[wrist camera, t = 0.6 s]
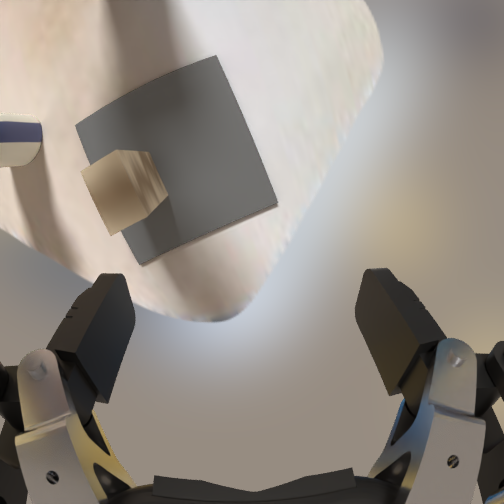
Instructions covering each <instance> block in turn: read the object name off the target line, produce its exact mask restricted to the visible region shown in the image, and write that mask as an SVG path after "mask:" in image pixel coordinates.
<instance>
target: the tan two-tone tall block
mask: <svg viewBox="0 0 504 504" xmlns="http://www.w3.org/2000/svg"><path fill="white" fill-rule="evenodd" d="M81 174H82V176H83V179H84V181H85V183H86V186H87V188H88V190H89V192H90V195H91V197H92V199H93V201H94V203H95V205H96V207H97V210H98V212H99V214H100V216H101V218H102V220H103V222H104V224H105V226H106V228H107V230H108V232H109V234H110V236H112V235H114V234H116V233H117V232H119V231H121V230H123V229H125V228H127V227H129V226H131V225H132V224H134V223H136V222H138V221H140V220H142V219H144V218H146V217H148V215H149V214H150V213H151V212H152V211H153V210H154V209H155V208H156V207H157V206H158V205H159V204H160V203H161V202H162V201H163V200H164V199H165V198H166V197H167V196H168V193H167V191H166V189H165V186H164V184H163V182H162V180H161V178H160V175H159V173H158V171H157V169H156V166H155V164H154V162H153V160H152V157H151V155H150V153H149V152H144V151H131V150H115V151H113V152H111V153H110V154H108V155H106V156H105V157H103V158H101V159H100V160H98V161H96V162H95V163H93V164H92V165H90V166H89V167H87V168H85V169H84V170H82V171H81Z"/></svg>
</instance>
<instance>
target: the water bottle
mask: <svg viewBox="0 0 504 504" xmlns="http://www.w3.org/2000/svg"><path fill="white" fill-rule="evenodd" d="M41 141H42V127H41V124H40V122H39V120H38V119H37V118H36V117H35V116H34V115H31V114H11V113H0V168H2V167H13V166H25V165H27V164H28V163H30V162H31V161H32V160H33V159H34V158H35V156H36V155H37V153H38V151H39V148H40V145H41Z"/></svg>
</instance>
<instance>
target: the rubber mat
mask: <svg viewBox="0 0 504 504" xmlns="http://www.w3.org/2000/svg"><path fill="white" fill-rule="evenodd" d="M75 127H76V130H77V132H78V135H79V138H80V140H81V143H82V145H83V148H84V150H85V153H86V155H87V158H88V160H89V163H90V165H92V164H93V163H95V162H96V161H98V160H100V159H101V158H103V157H105V156H106V155H108V154H110V153H111V152H113V151H115V150H131V151H144V152H149V153H150V155H151V157H152V160H153V162H154V164H155V166H156V169H157V171H158V173H159V175H160V178H161V180H162V182H163V184H164V186H165V189H166V191H167V193H168V196H167V197H166V198H165V199H164V200H163V201H162V202H161V203H160V204H159V205H158V206H157V207H156V208H155V209H154V210H153V211H152V212H151V213H150V214H149V215H148V217H146V218H144V219H142V220H140V221H138V222H136V223H134V224H132V225H131V226H129V227H127V228H125V229H123V230H121V232H122V234H123V236H124V238H125V239H126V241H127V243H128V245H129V247H130V249H131V251H132V253H133V254H134V256H135V258H136V260H137V262H138V263H139V265H140V264H142V263H144V262H146V261H148V260H150V259H152V258H154V257H157V256H159V255H161V254H163V253H165V252H167V251H169V250H172V249H174V248H176V247H178V246H180V245H182V244H185V243H187V242H189V241H191V240H193V239H195V238H198V237H200V236H202V235H204V234H207V233H209V232H211V231H213V230H215V229H218V228H220V227H222V226H225V225H227V224H229V223H231V222H234V221H236V220H238V219H240V218H243V217H245V216H247V215H250V214H252V213H254V212H257V211H259V210H261V209H264V208H266V207H268V206H271V205H273V204H276V203H278V201H277V198H276V196H275V193H274V191H273V188H272V185H271V183H270V180H269V178H268V175H267V173H266V170H265V168H264V165H263V163H262V160H261V158H260V155H259V153H258V150H257V148H256V145H255V143H254V140H253V138H252V136H251V133H250V131H249V128H248V126H247V124H246V121H245V119H244V117H243V114H242V112H241V110H240V107H239V105H238V103H237V100H236V98H235V96H234V94H233V91H232V89H231V87H230V85H229V82H228V80H227V78H226V76H225V73H224V71H223V69H222V67H221V65H220V62H219V60H218V58H217V56H216V55H215V56H212V57H209V58H206V59H204V60H201V61H198V62H196V63H193V64H190V65H188V66H185V67H183V68H180V69H178V70H176V71H173V72H171V73H169V74H166V75H164V76H162V77H160V78H158V79H155V80H153V81H151V82H149V83H147V84H145V85H143V86H141V87H139V88H137V89H135V90H133V91H131V92H129V93H128V94H126V95H124V96H122V97H120V98H118V99H117V100H115V101H113V102H111V103H110V104H108V105H106V106H105V107H103V108H101V109H100V110H98V111H96V112H95V113H93V114H92V115H90V116H88V117H87V118H85V119H84V120H82V121H81V122H79V123H78V124H76V125H75Z"/></svg>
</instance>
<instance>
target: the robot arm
mask: <svg viewBox="0 0 504 504" xmlns="http://www.w3.org/2000/svg"><path fill="white" fill-rule="evenodd" d="M355 317H356V322H357V324H358V326H359V328H360V331H361V333H362V335H363V337H364V339H365V341H366V344H367V346H368V348H369V350H370V352H371V355H372V357H373V359H374V361H375V364H376V366H377V368H378V371H379V373H380V375H381V378H382V380H383V382H384V385H385V387H386V390H387V392H388V394H389V396H392V395H395V394H399V393H402V394H403V396H404V399H403V400H402V402H401V404H400V407H399V410H398V413H397V416H396V419H395V422H394V425H393V427H392V430H391V433H390V435H389V438H388V440H387V443H386V446H385V448H384V450H383V452H382V454H381V455H380V457H379V458H378V460H377V461H376V462H375V464H374V465H373V467H372V469H371V470H370V472H369V474H368V476H367V477H361V476H354V474H353V470H352V468H348V469H344V470H339V471H334V472H329V473H323V474H318V475H311V476H306V477H303V478H300V479H297V480H294V481H292V482H288V483H285V484H282V485H279V486H276V487H273V488H269V489H266V490H262V491H258V492H249V491H244V490H239V489H234V488H230V487H225V486H221V485H217V484H212V483H209V482H206V481H202V480H187V479H178V478H169V477H162V476H154V483H153V484H148V485H143V486H138V487H137V486H136V484H135V483H134V481H133V479H132V478H131V477H130V475H129V474H128V472H127V471H126V470H125V469H124V467H123V466H122V465H121V464H120V463H119V461H118V459H117V458H116V456H115V454H114V452H113V450H112V448H111V446H110V444H109V442H108V440H107V438H106V436H105V434H104V431H103V429H102V427H101V425H100V422H99V420H98V418H97V415H96V413H95V411H94V410H93V406H94V404H95V401H96V402H101V403H107V404H108V403H109V399H110V396H111V393H112V390H113V387H114V383H115V380H116V377H117V374H118V371H119V368H120V365H121V362H122V360H123V356H124V354H125V351H126V348H127V345H128V343H129V340H130V337H131V335H132V332H133V329H134V326H135V310H134V307H133V304H132V300H131V297H130V293H129V290H128V286H127V283H126V279H125V277H124V275H123V274H107V273H102V274H100V275H99V277H98V278H97V280H96V281H95V283H94V284H93V286H92V287H91V288H88V289H87V290H85V291H84V292H83V293H82V294H81V295H79V296H78V297H77V299H76V300H75V302H74V303H73V305H72V306H71V309H70V310H69V311H68V313H67V314H66V318H64V319H63V321H62V322H61V324H60V325H59V327H58V329H57V330H56V332H55V334H54V335H53V337H52V339H51V341H50V342H49V344H48V346H47V348H46V349H37V350H34V351H32V352H30V353H28V354H27V355H26V356H25V357H24V358H23V359H22V360H21V362H20V364H19V365H18V366H6V367H4V366H3V365H2V364H1V362H0V415H1V416H2V417H3V418H4V419H5V422H4V425H3V428H2V431H1V434H0V504H26V501H27V494H28V493H29V495H30V498H31V501H32V504H471V501H472V497H473V494H474V490H475V486H476V482H478V485H479V489H480V493H481V497H482V501H483V504H504V434H503V431H502V429H501V426H500V424H499V422H498V420H497V417H496V415H495V413H494V411H493V409H492V405H493V404H494V403H495V402H496V401H497V400H498V398H499V397H502V399H503V401H504V341H500V342H498V343H497V344H496V345H495V346H494V348H493V350H492V351H491V352H490V354H477V353H476V354H475V353H474V351H473V350H472V348H471V347H470V346H469V345H468V344H466V343H465V342H463V341H461V340H459V339H455V338H447V337H446V336H445V334H444V333H443V331H442V330H441V329H440V327H439V326H438V324H437V323H436V321H435V320H434V319H433V317H432V316H431V315H430V313H429V312H428V310H425V306H424V305H423V304H422V302H419V298H418V297H417V296H416V295H415V293H414V292H413V291H412V289H410V288H409V287H407V286H406V285H405V284H403V283H402V282H399V281H398V280H397V279H396V278H395V276H394V275H393V274H392V272H391V271H390V270H389V269H388V268H377V269H367V270H366V271H365V272H364V275H363V278H362V282H361V286H360V290H359V294H358V298H357V302H356V306H355Z"/></svg>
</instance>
